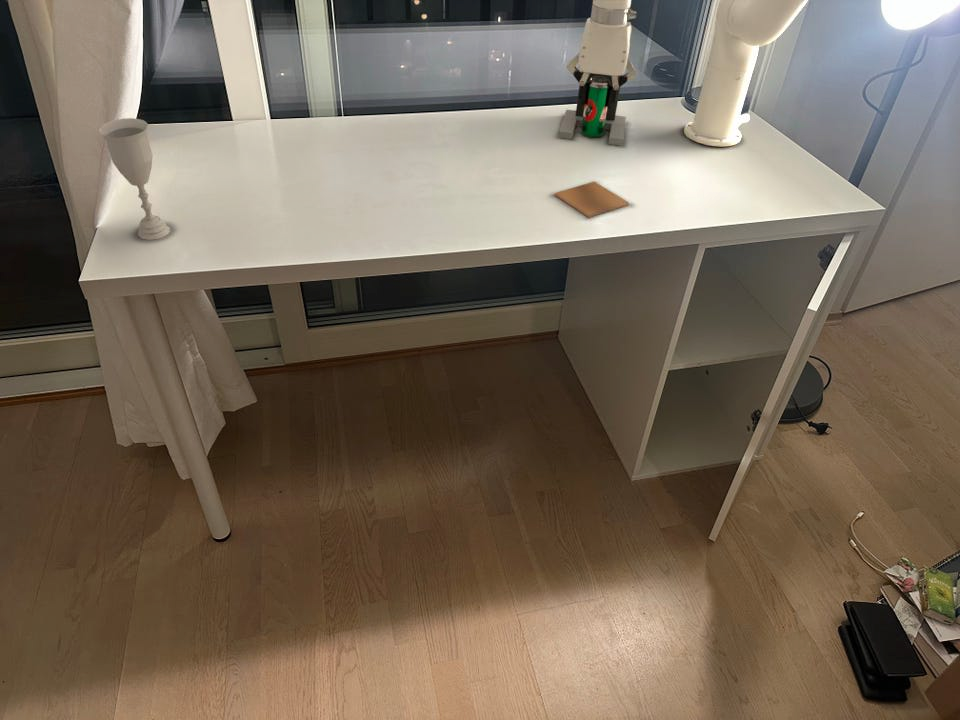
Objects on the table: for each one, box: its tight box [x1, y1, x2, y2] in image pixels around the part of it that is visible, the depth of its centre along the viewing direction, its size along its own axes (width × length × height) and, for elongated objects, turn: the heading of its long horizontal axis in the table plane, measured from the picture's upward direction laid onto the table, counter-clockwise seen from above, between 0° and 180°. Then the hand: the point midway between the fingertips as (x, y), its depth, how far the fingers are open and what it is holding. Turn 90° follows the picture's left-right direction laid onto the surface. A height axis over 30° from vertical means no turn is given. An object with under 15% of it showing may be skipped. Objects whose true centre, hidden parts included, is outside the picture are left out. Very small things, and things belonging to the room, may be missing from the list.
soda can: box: [580, 76, 611, 139], centre depth 154 cm, size 5×5×12 cm
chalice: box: [98, 117, 171, 241], centre depth 112 cm, size 7×7×18 cm
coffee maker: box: [558, 26, 633, 147], centre depth 153 cm, size 14×14×21 cm
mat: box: [554, 181, 630, 218], centre depth 134 cm, size 10×10×1 cm
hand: (596, 103), depth 154 cm, fingers closed on soda can, 5 cm apart
